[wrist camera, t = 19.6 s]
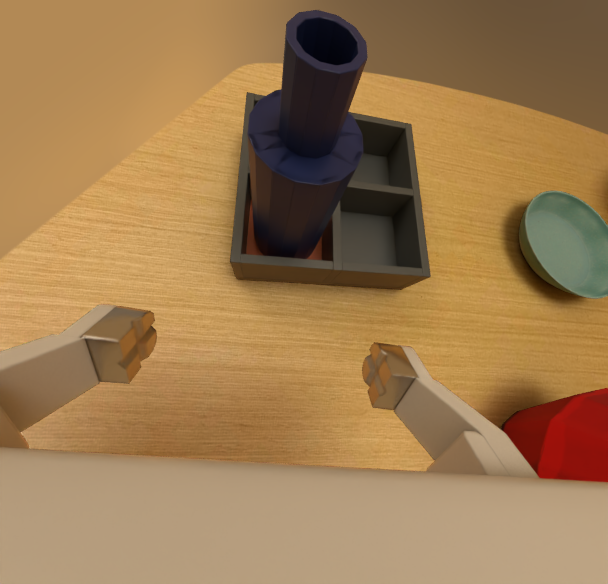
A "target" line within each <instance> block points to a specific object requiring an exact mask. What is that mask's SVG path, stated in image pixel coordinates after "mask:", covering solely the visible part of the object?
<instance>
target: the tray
mask: <svg viewBox="0 0 608 584" xmlns="http://www.w3.org/2000/svg"><path fill="white" fill-rule="evenodd" d="M263 97H265V96H263V95H257V94H253V93H248V92H247V95H246V105H245V116H244V126H243V136H242V146H241V156H240V166H239V176H238V187H237V197H236V207H235V217H234V227H233V237H232V247H231V257H230V263H231V265H232V268H233V271H234V274H235V277H236V279H241V280H257V281H273V282H289V283H305V284H321V285H337V286H352V287H368V288H384V289H400V290H401V289H403V288H406V287H408V286H410V285H413V284H415V283H417V282H420V281H422V280H424V279H427V278H429V277H430V269H429V261H428V253H427V245H426V237H425V229H424V221H423V213H422V205H421V197H420V189H419V181H418V173H417V166H416V158H415V150H414V142H413V134H412V126H411V124H408V123H403V122H398V121H393V120H388V119H382V118H377V117H372V116H367V115H362V114H356V113H351V112H349V113H350V114H351V115H352V116H353V117H354V119H355V121H356V123H357V125H358V127H359V129H360V131H361V133H362V137H363V155H362V157H361V159H360V162H359V164H358V166H357V168H356V170H355V172H354V174H353V176H352V178H351V180H350V182H349V184H348V186H347V188H346V190H345V191H344V193H343V195H342V197H341V199H340V201H339V203H338V205H337V207H336V209H335V211H334V213H333V215H332V216H331V218H330V220H329V222H328V224H327V226H326V228H325V230H324V232H323V234H322V236H321V238H320V240H319V241H318V243H317V245H316V247H315V249H314V251H313V253H312V254H311V255H310V256H309V257H308V258H307V259H300V258H287V257H275V256H264V255H263V254H262V253H261V252H260V250H259V249H258V247H257V244H256V241H255V237H254V224H253V210H252V195H251V180H250V165H249V150H248V135H247V132H248V121H249V114H250V112H251V111H252V110H253V108H254V107H255V105H256V104H257V103H258V101H259V100H260V99H261V98H263Z"/></svg>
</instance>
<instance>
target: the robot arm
mask: <svg viewBox="0 0 608 584" xmlns="http://www.w3.org/2000/svg"><path fill="white" fill-rule="evenodd" d="M154 321H155V319H154V313H153V312H151V311H148V310H141V309H135V308H129V307H123V306H115V305H109V304H100V305H97V306H96V307H95V308H93V309H92V310H91V311H89V312H88V313H87V314H85V315H84V316H83V317H81V318H80V319H79V320H77V321H76V322H75V323H74V324H72V325H71V326H70V327H68V328H67V329H66V330H64V331H63V332H62V333H60V334H59V335H54V334H52V335H49V336H46V337H43V338H40V339H37V340H34V341H31V342H28V343H25V344H21V345H18V346H15V347H12V348H9V349H6V350H3V351H0V584H608V482H596V481H578V480H561V479H544V478H539V476H538V475H537V474H536V473H535V471H534V470H533V469H532V467H531V466H530V465H529V463H528V462H527V461H526V459H525V458H524V457H523V455H522V454H521V453H520V452H519V450H518V449H517V448H516V446H515V445H514V444H513V442H512V441H511V440H510V438H509V437H508V436H507V434H506V433H505V432H503V431H502V430H501V429H499V428H498V427H497V426H495V425H494V424H493V423H492V422H490V421H489V420H488V419H486V418H485V417H484V416H482V415H481V414H480V413H479V412H477V411H476V410H475V409H473V408H472V407H471V406H469V405H468V404H467V403H466V402H464V401H463V400H462V399H460V398H459V397H458V396H456V395H455V394H454V393H453V392H451V391H450V390H449V389H447V388H446V387H445V386H443V385H442V384H441V383H440V382H438V381H437V380H433V379H432V377H431V376H430V374H429V373H428V371H427V369H426V368H425V366H424V365H423V363H422V361H421V360H420V358H419V357H418V355H417V353H416V352H415V350H414V349H413V348H412V347H409V346H401V345H398V346H397V345H390V344H383V343H375V342H374V343H373V344H372V345H371V347H370V349H369V350H370V352H371V354H370V355H369V356H367V357H366V358H365V360H364V362H363V367H362V374H363V379H364V382H365V383H366V384H367V385H368V386H369V389H368V395H369V398H370V401H371V404H372V407H373V408H380V409H388V410H394V412H395V413H396V415H397V416H398V417H399V418H400V420H401V421H402V422H403V423H404V424H405V426H406V427H407V428H408V429H409V430H410V432H411V433H412V434H413V435H414V436H415V438H416V439H417V440H418V441H419V442H420V444H421V445H422V446H423V447H424V448H425V450H426V451H427V452H428V453H429V454H430V456H431V457H432V458H433V459H434V460H435V461H434V462H433V463H432V464H431V465H430V466H429V467H428V468H427V470H426V472H423V471H405V470H388V469H371V468H354V467H337V466H320V465H303V464H286V463H269V462H252V461H234V460H217V459H200V458H182V457H165V456H148V455H131V454H113V453H96V452H79V451H62V450H44V449H29V445H28V443H27V442H26V440H25V439H24V438H23V436H22V435H21V433H20V432H22V431H24V430H25V429H27V428H28V427H30V426H32V425H33V424H35V423H36V422H38V421H40V420H41V419H43V418H44V417H46V416H48V415H49V414H51V413H52V412H54V411H56V410H57V409H59V408H60V407H62V406H64V405H65V404H67V403H69V402H70V401H72V400H73V399H75V398H77V397H78V396H80V395H81V394H83V393H85V392H86V391H88V390H89V389H91V388H93V387H94V386H96V385H97V384H99V382H112V383H126V384H129V383H130V382H131V381H132V379H133V378H134V377H135V375H136V374H137V372H138V371H139V370H140V368H141V363H140V361H142V360H144V359H146V358H148V357H149V356H150V354H151V353H152V351H153V349H154V347H155V344H156V340H157V333H156V330H155V329H154V328H153V327H152V326H151V325H152V324H153V322H154Z"/></svg>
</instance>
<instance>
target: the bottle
mask: <svg viewBox="0 0 608 584" xmlns="http://www.w3.org/2000/svg"><path fill="white" fill-rule="evenodd" d="M501 430H502V431H503V432H505V433H506V434H507V436H508V437H509V438H510V440H511V441H512V442H513V444H514V445H515V446H516V448H517V449H518V450H519V452H520V453H521V454H522V455H523V457H524V458H525V459H526V461H527V462H528V463H529V465H530V466H531V467H532V469H533V470H534V471H535V473H536V474H537V475H538V476H539V478H544V479H561V480H578V481H596V482H608V388H604V389H600V390H595V391H591V392H586V393H582V394H577V395H574V396H570V397H567V398H563V399H560V400H556V401H552V402H549V403H545V404H542V405H538V406H535V407H531V408H528V409H524V410H521V411H517V412H516V413H515V414H513V415H512V416H511V417H510V418H509V419H508V420H507V421H506V422H504V423H503V425H502V428H501Z"/></svg>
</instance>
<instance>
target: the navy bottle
mask: <svg viewBox="0 0 608 584" xmlns="http://www.w3.org/2000/svg"><path fill="white" fill-rule="evenodd" d="M366 61H367V46H366V42H365V40H364V39H363V37H362V36H361V34H360V33H359V32H358V30H357V29H356V28H355V27H354V26H353V25H351V24H350V23H348V22H346V21H345V20H344V19H342V18H341V17H339V16H337V15H334V14H330V13H327V12H323V11H319V10H313V11H306V12H299V13H297V14H296V15H295V16H294V17H293V18H292V19H291V20H289V21H288V23H287V24H286V37H285V50H284V63H283V76H282V90H276V91H274V92H272V93H271V94H269V95H267V96H265V97H263V98H261V99H260V100H259V101H258V103H257V104H256V105H255V107H254V108H253V110H252V111H251V112H250V114H249V121H248V132H247V135H248V150H249V165H250V180H251V195H252V210H253V224H254V237H255V241H256V244H257V247H258V249H259V250H260V252H261V253H262V254H263V255H264V256H275V257H287V258H300V259H307V258H308V257H309V256H310V255H311V254H312V253H313V251H314V249H315V247H316V245H317V243H318V241H319V240H320V238H321V236H322V234H323V232H324V230H325V228H326V226H327V224H328V222H329V220H330V218H331V216H332V215H333V213H334V211H335V209H336V207H337V205H338V203H339V201H340V199H341V197H342V195H343V193H344V191H345V190H346V188H347V186H348V184H349V182H350V180H351V178H352V176H353V174H354V172H355V170H356V168H357V166H358V164H359V162H360V159H361V157H362V155H363V137H362V133H361V131H360V129H359V127H358V125H357V123H356V121H355V119H354V117H353V116H352V115H351V114H350V113H349V112H348V110H349V108H350V105H351V102H352V99H353V97H354V94H355V91H356V88H357V86H358V83H359V80H360V77H361V74H362V72H363V69H364V66H365V63H366Z"/></svg>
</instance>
